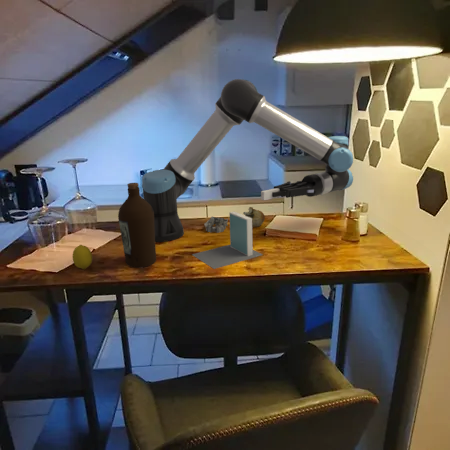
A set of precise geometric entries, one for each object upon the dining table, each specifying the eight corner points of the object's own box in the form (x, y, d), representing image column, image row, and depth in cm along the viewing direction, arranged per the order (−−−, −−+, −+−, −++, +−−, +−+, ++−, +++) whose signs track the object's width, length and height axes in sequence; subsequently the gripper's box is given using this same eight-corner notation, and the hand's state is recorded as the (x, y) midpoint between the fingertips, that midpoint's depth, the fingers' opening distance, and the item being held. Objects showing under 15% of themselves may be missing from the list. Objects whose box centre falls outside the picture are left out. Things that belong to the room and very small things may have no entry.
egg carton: (222, 234, 151) (221, 223, 150) (203, 233, 153) (202, 222, 152) (230, 225, 160) (229, 215, 159) (212, 224, 163) (211, 214, 161)
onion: (263, 230, 153) (263, 209, 150) (242, 229, 155) (241, 209, 152) (265, 224, 160) (265, 204, 157) (245, 223, 162) (245, 203, 159)
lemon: (94, 271, 122) (90, 246, 119) (74, 274, 120) (70, 249, 118) (93, 264, 127) (89, 240, 124) (74, 267, 125) (70, 243, 123)
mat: (238, 244, 140) (238, 242, 139) (263, 256, 128) (262, 254, 128) (191, 256, 131) (191, 254, 130) (214, 270, 119) (214, 268, 119)
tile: (235, 245, 136) (234, 211, 133) (252, 254, 128) (252, 218, 125) (230, 247, 135) (228, 212, 132) (247, 256, 127) (246, 219, 124)
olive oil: (151, 252, 135) (144, 178, 127) (163, 263, 126) (156, 184, 118) (119, 260, 130) (110, 183, 122) (129, 271, 121) (120, 189, 113)
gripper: (329, 198, 138) (275, 211, 127) (303, 191, 149) (251, 203, 137) (330, 176, 136) (275, 187, 124) (303, 171, 147) (250, 181, 135)
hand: (262, 195), depth 131 cm, fingers closed
